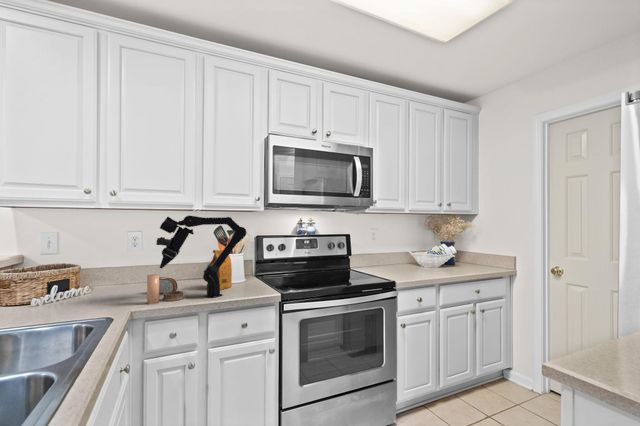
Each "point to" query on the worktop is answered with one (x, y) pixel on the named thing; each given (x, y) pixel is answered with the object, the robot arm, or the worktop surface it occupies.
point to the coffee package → (223, 271)
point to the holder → (173, 296)
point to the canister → (153, 289)
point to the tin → (167, 285)
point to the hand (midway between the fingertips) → (161, 266)
